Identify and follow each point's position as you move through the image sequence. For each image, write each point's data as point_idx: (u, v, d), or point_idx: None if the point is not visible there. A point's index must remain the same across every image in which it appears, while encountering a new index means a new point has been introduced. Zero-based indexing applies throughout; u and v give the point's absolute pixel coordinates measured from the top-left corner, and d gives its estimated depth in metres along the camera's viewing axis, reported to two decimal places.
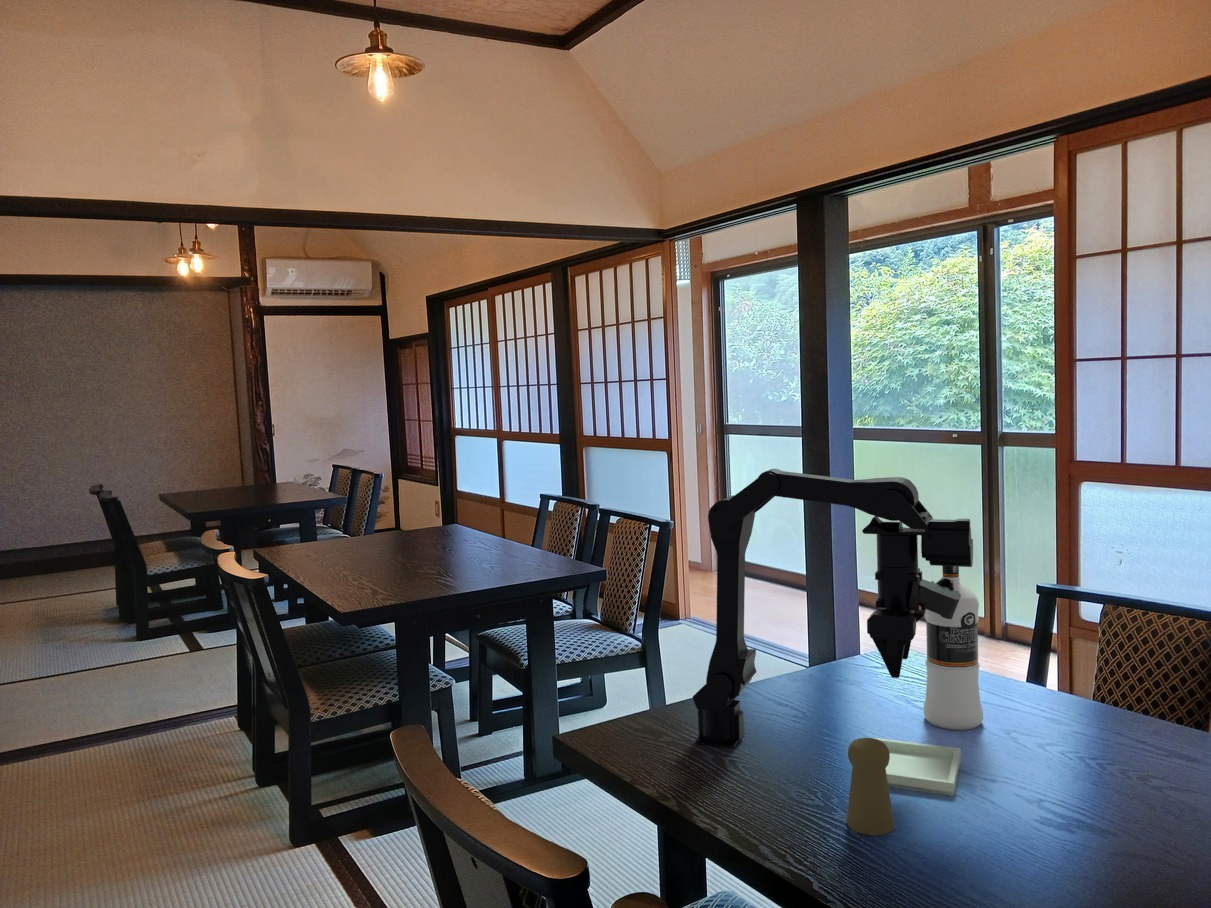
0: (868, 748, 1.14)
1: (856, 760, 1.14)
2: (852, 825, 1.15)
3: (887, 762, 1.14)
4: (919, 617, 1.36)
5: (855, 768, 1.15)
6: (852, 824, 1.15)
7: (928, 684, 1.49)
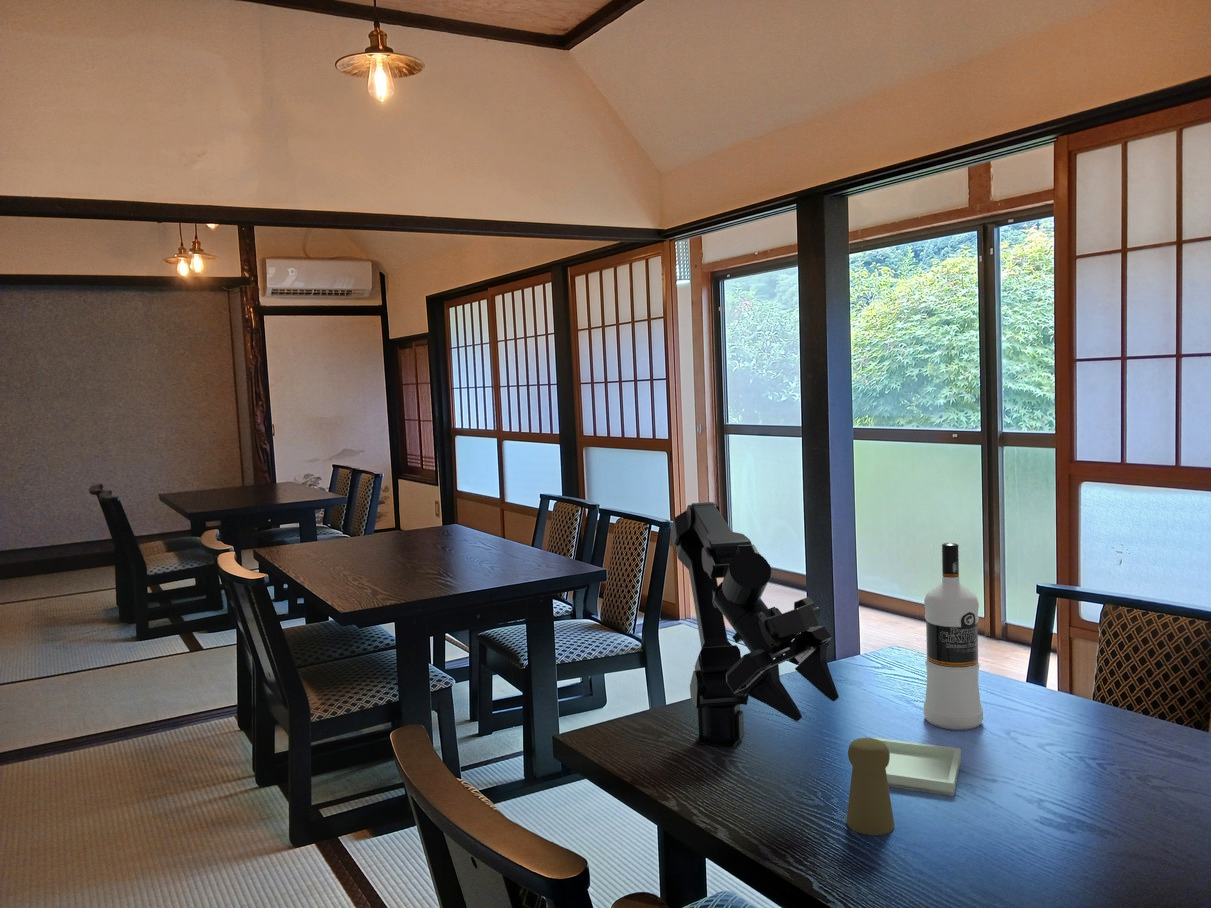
0: (868, 748, 1.14)
1: (856, 760, 1.14)
2: (852, 825, 1.15)
3: (887, 762, 1.14)
4: (818, 651, 1.26)
5: (855, 768, 1.15)
6: (852, 824, 1.15)
7: (928, 684, 1.49)
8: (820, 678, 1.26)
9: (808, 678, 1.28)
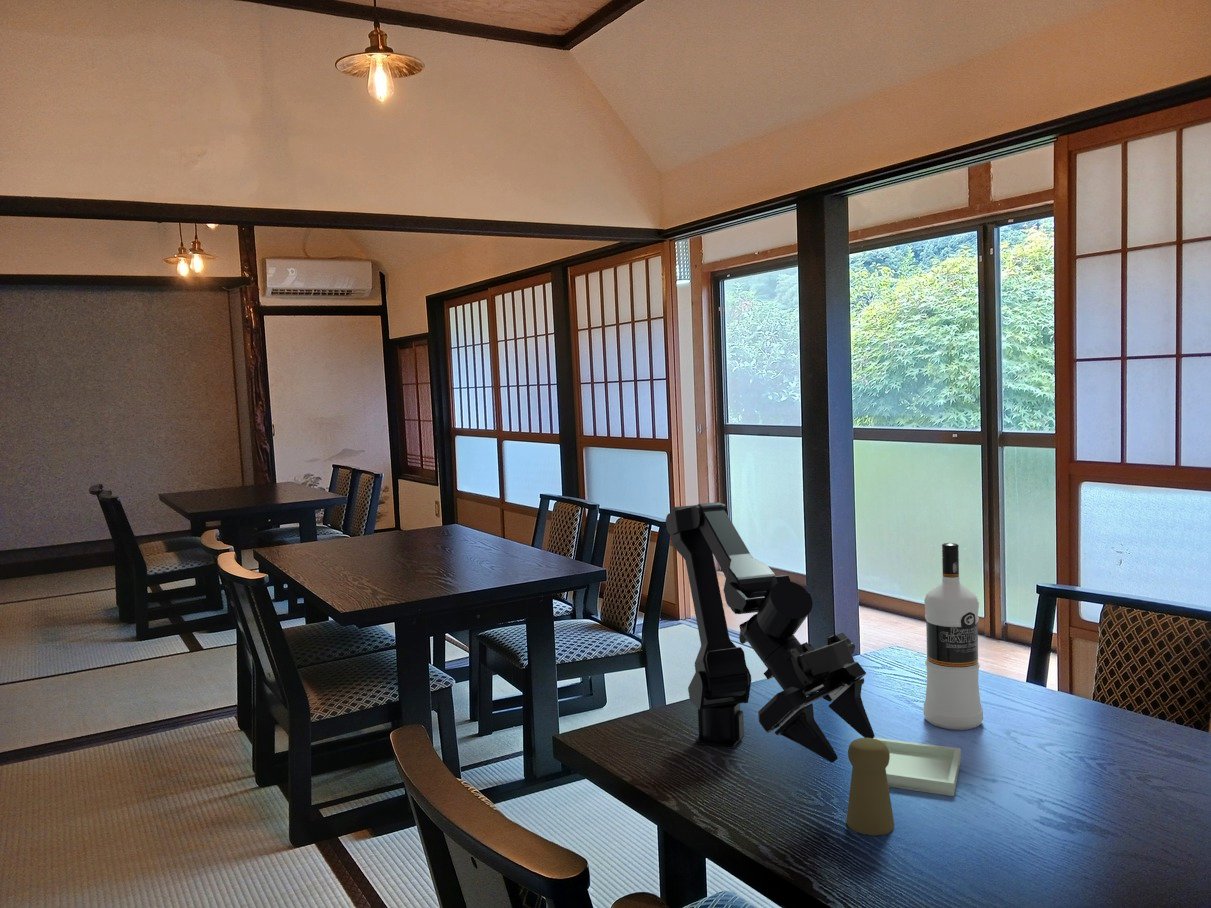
0: (868, 748, 1.14)
1: (856, 760, 1.14)
2: (852, 825, 1.15)
3: (887, 762, 1.14)
4: (853, 688, 1.22)
5: (855, 768, 1.15)
6: (852, 824, 1.15)
7: (928, 684, 1.49)
8: (855, 716, 1.22)
9: (842, 716, 1.24)
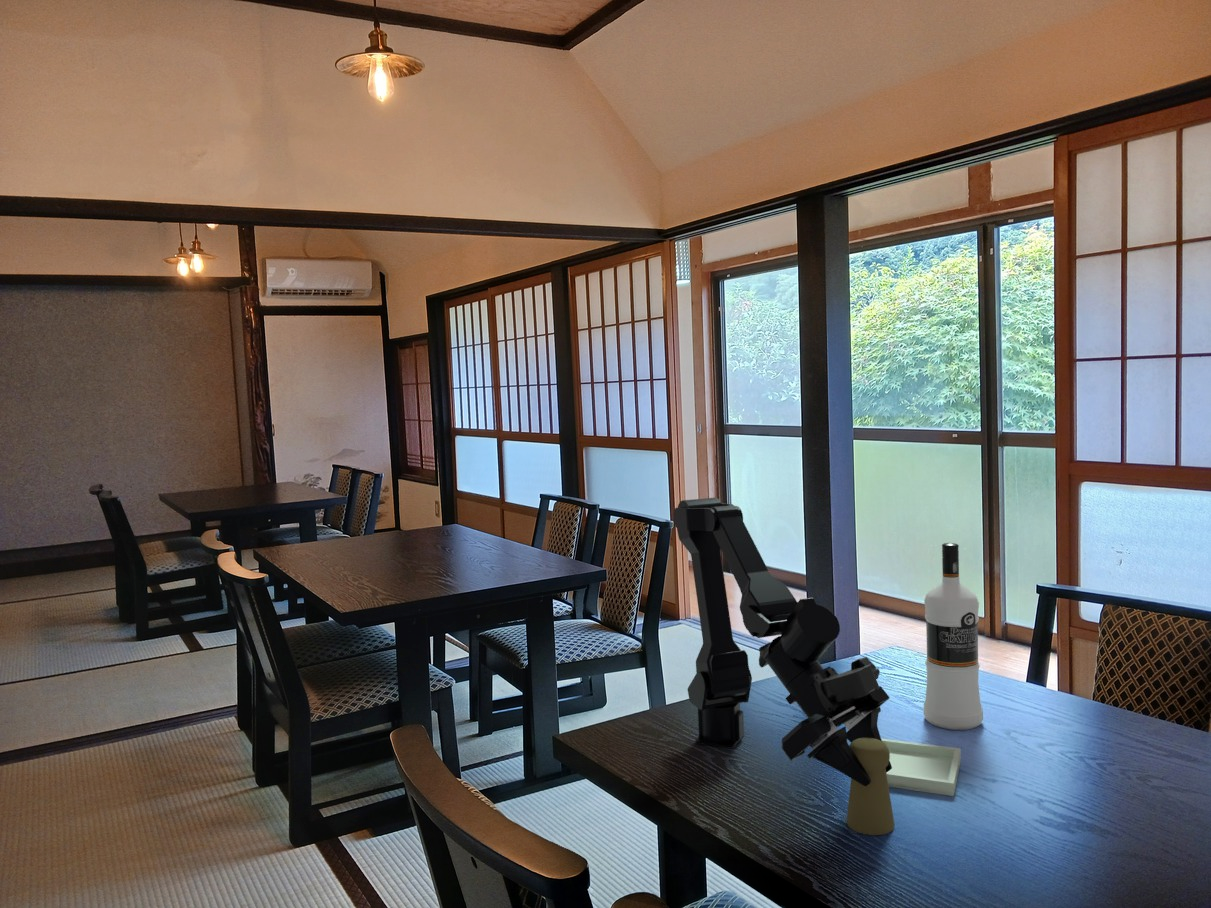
0: (868, 748, 1.14)
1: None
2: (852, 825, 1.15)
3: (887, 762, 1.14)
4: (869, 717, 1.19)
5: None
6: (852, 824, 1.15)
7: (928, 684, 1.49)
8: None
9: None
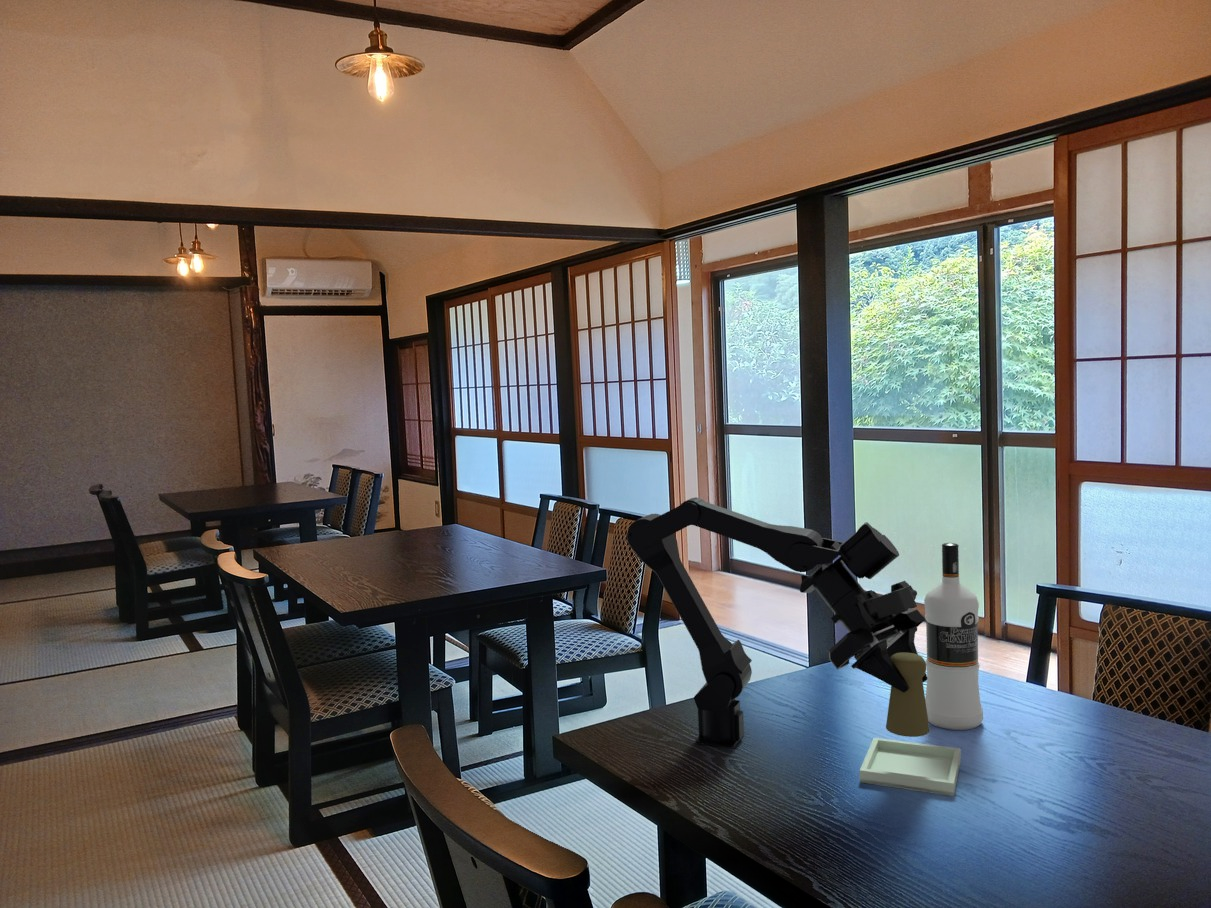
0: (907, 659, 1.28)
1: None
2: (891, 729, 1.29)
3: (924, 672, 1.28)
4: (907, 634, 1.32)
5: None
6: (891, 728, 1.29)
7: (928, 684, 1.49)
8: None
9: None
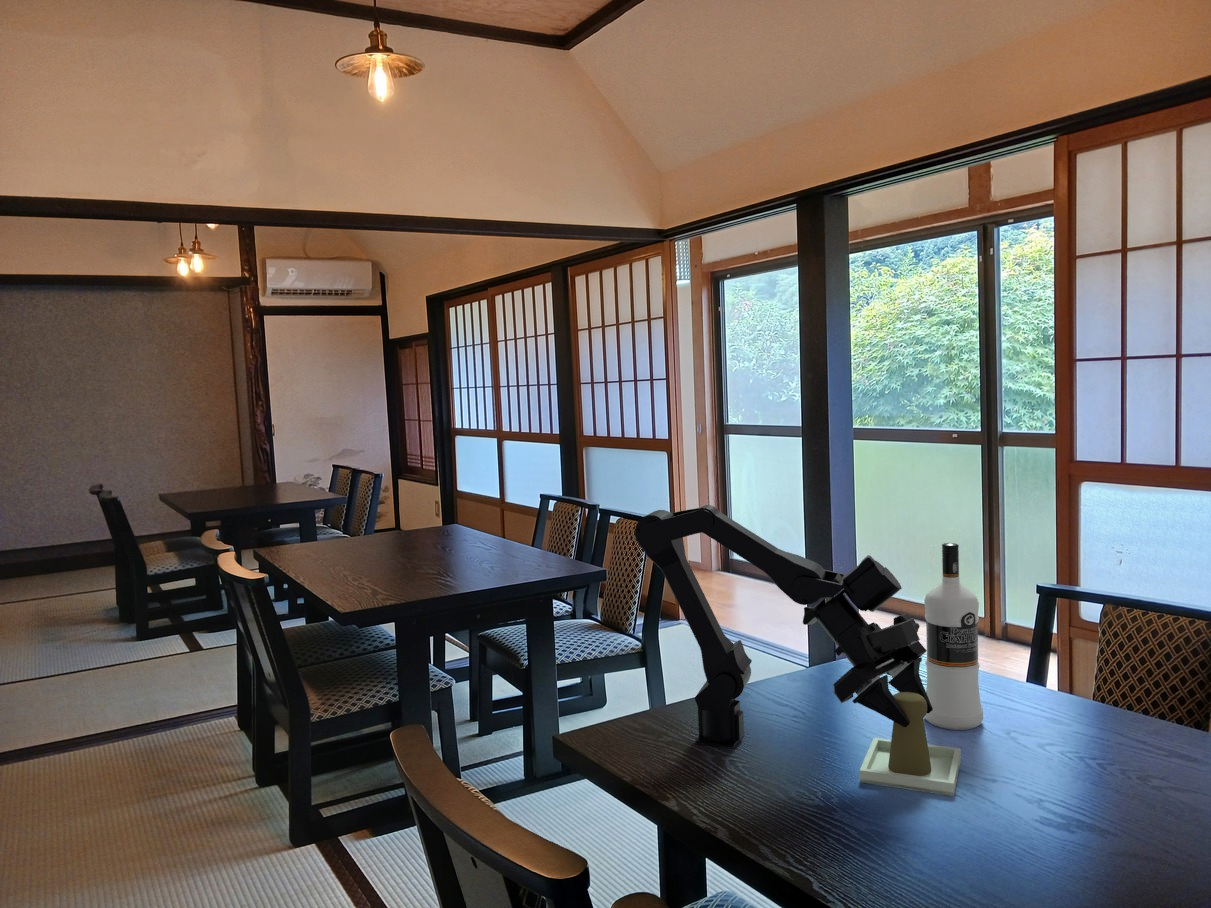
0: (908, 700, 1.29)
1: None
2: (894, 768, 1.30)
3: (925, 712, 1.29)
4: (912, 665, 1.34)
5: None
6: (894, 767, 1.30)
7: (928, 684, 1.49)
8: (914, 691, 1.34)
9: (902, 691, 1.36)
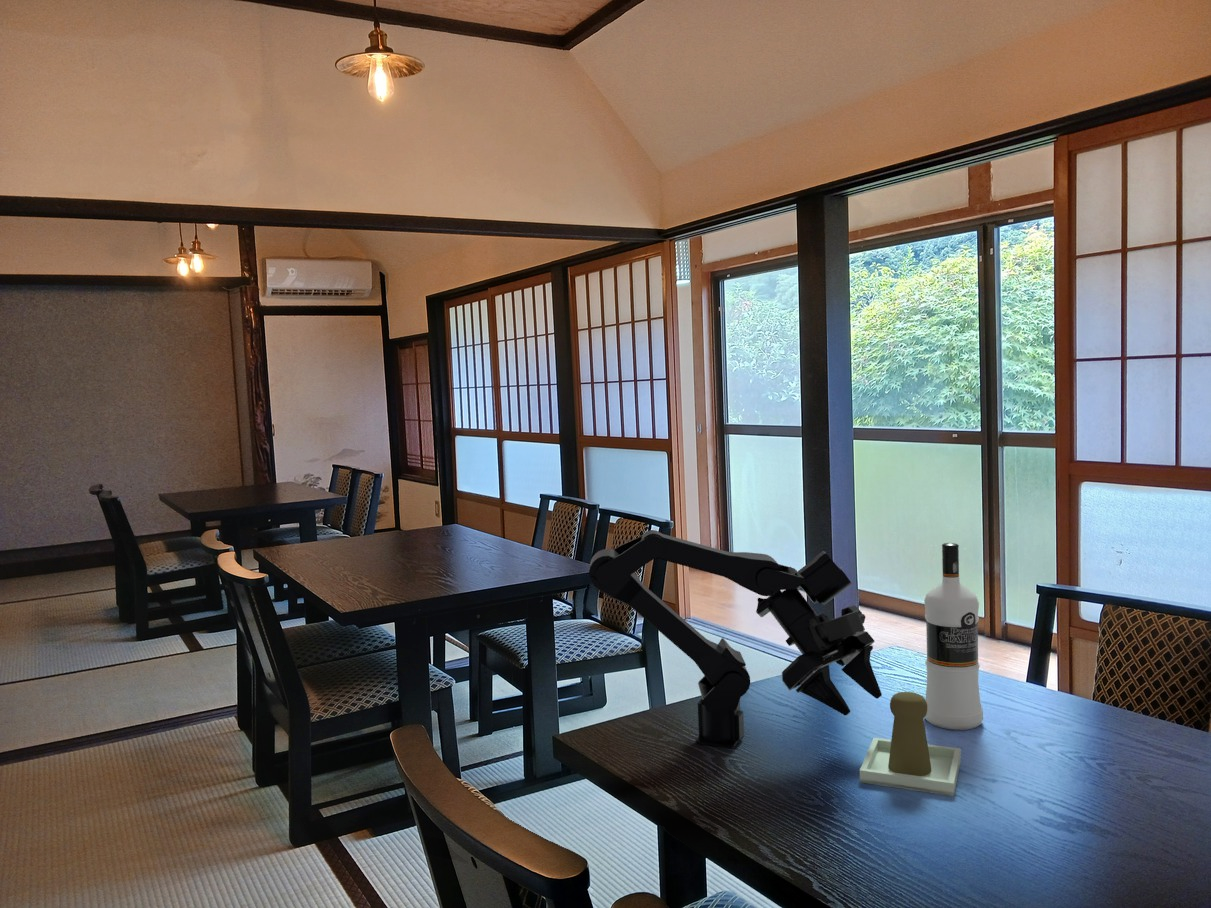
0: (908, 700, 1.29)
1: (898, 711, 1.29)
2: (894, 768, 1.30)
3: (925, 712, 1.29)
4: (863, 653, 1.41)
5: (896, 718, 1.30)
6: (894, 767, 1.30)
7: (928, 684, 1.49)
8: (865, 678, 1.41)
9: (853, 678, 1.43)
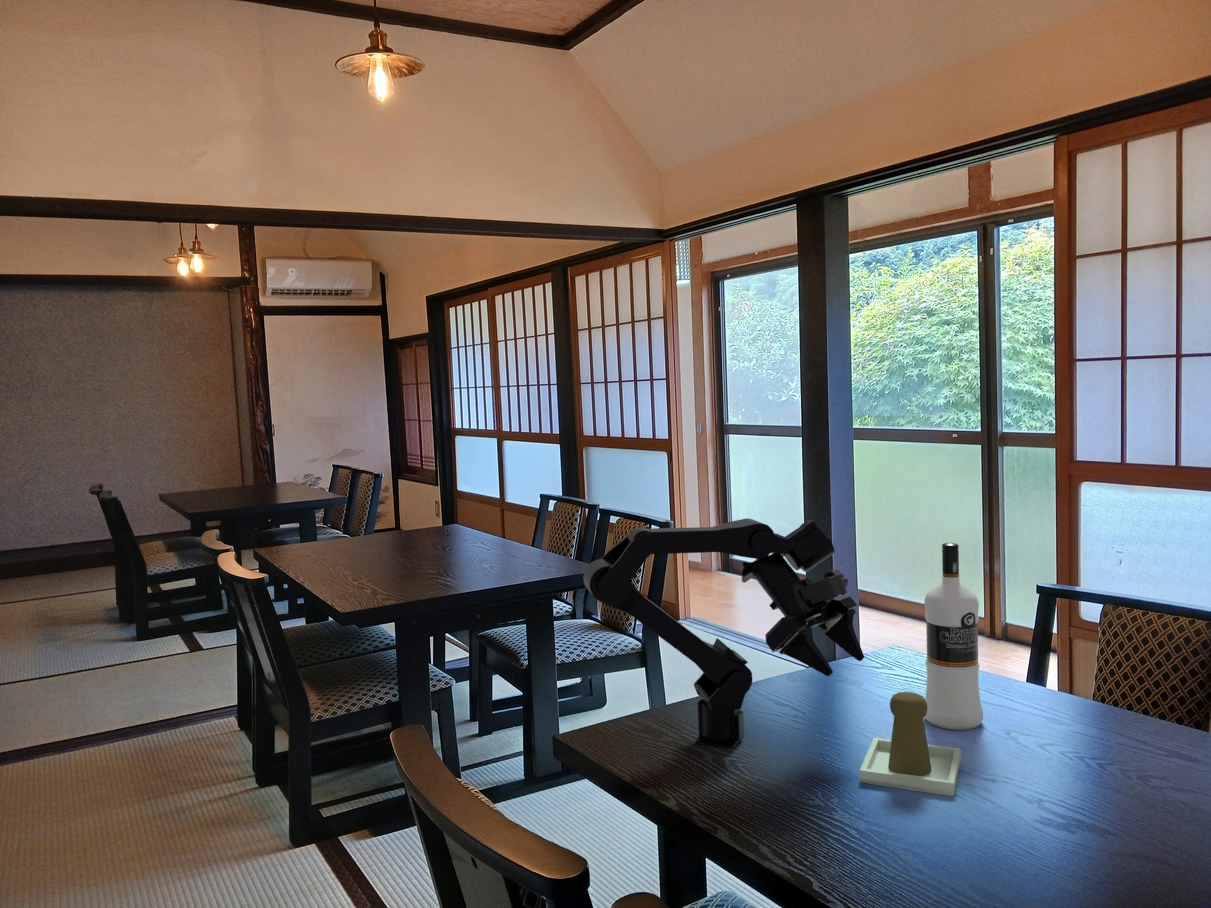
0: (908, 700, 1.29)
1: (897, 711, 1.29)
2: (894, 768, 1.30)
3: (925, 712, 1.29)
4: (846, 617, 1.43)
5: (896, 718, 1.30)
6: (894, 767, 1.30)
7: (928, 684, 1.49)
8: (848, 641, 1.43)
9: (837, 641, 1.44)
